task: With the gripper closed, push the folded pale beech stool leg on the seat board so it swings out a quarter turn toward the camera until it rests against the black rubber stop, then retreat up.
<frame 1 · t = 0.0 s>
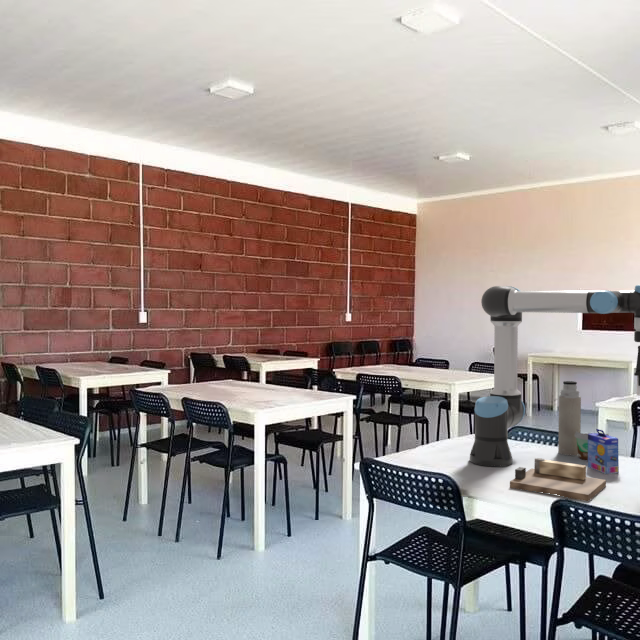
ink cartridge box: (602, 470, 232), on the table
food container: (591, 460, 246), on the table
stool leg: (559, 468, 217), point 4 cm above the table, hinge at 0.0°
seat board: (558, 486, 211), on the table
thermos bottle: (569, 453, 257), on the table
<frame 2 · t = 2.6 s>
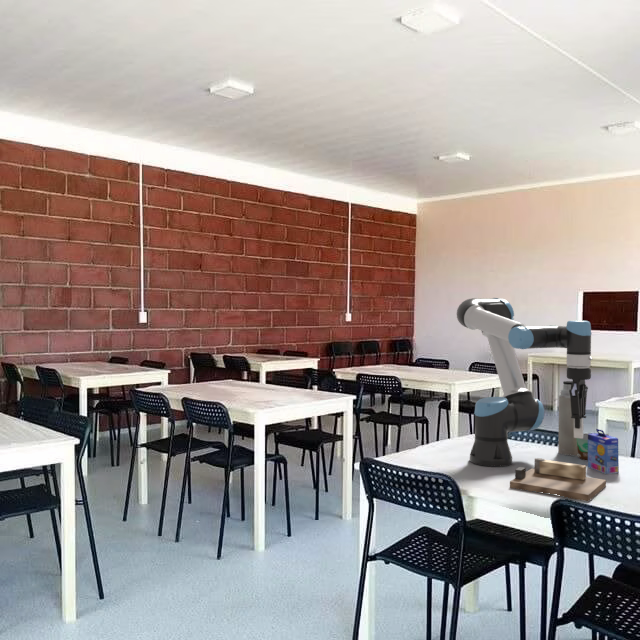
hand: (578, 437, 220), 14 cm above the table, fingers closed
nothing on the table moved.
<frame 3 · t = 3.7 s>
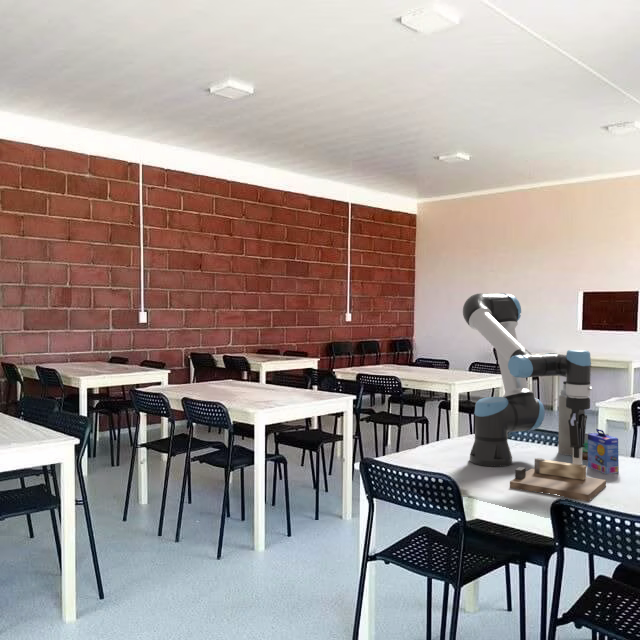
hand: (577, 466, 221), 4 cm above the table, fingers closed
nothing on the table moved.
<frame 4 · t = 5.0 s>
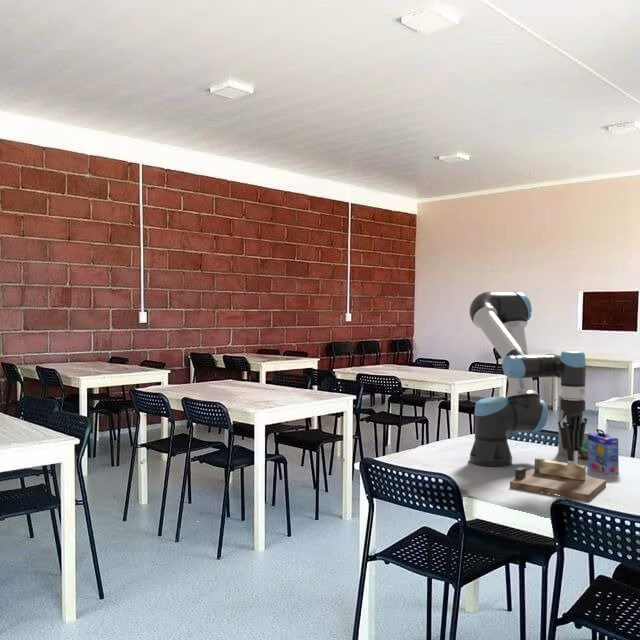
hand: (572, 470, 216), 4 cm above the table, fingers closed
stool leg: (558, 469, 217), point 4 cm above the table, hinge at 2.0°, touching gripper
everything else where it was.
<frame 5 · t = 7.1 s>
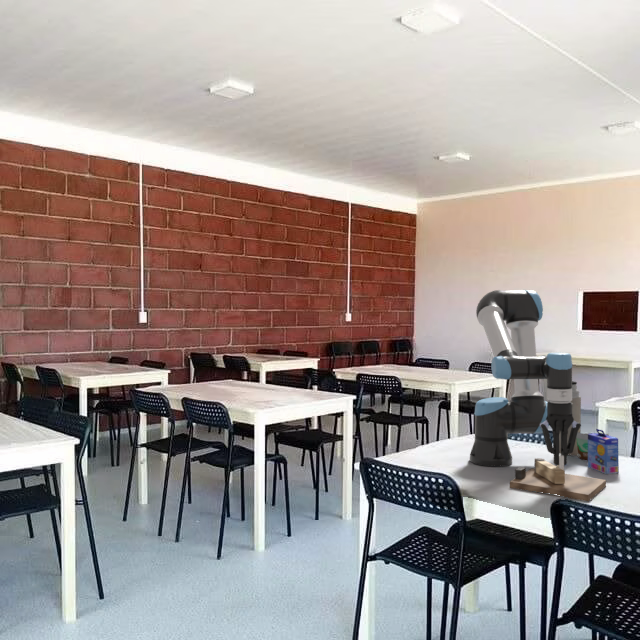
hand: (560, 474, 211), 4 cm above the table, fingers closed
stool leg: (548, 470, 214), point 4 cm above the table, hinge at 46.3°, touching gripper
everything else where it was.
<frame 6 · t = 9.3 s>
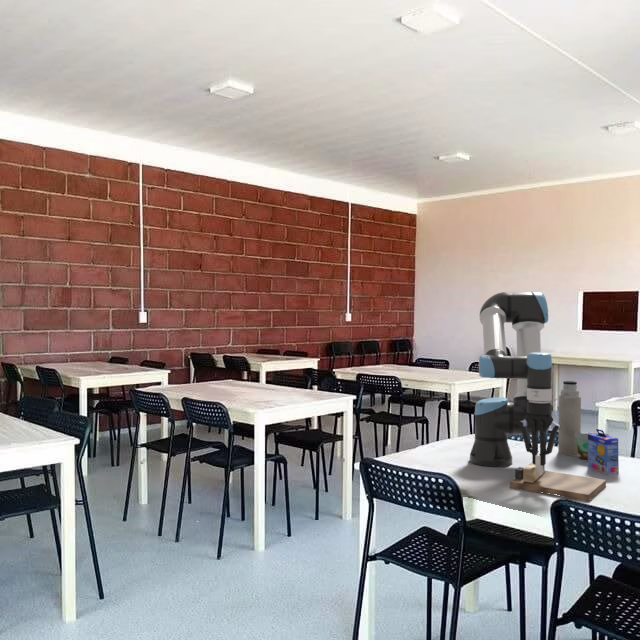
hand: (538, 474, 211), 4 cm above the table, fingers closed
stool leg: (534, 470, 215), point 4 cm above the table, hinge at 84.9°, touching gripper
everything else where it was.
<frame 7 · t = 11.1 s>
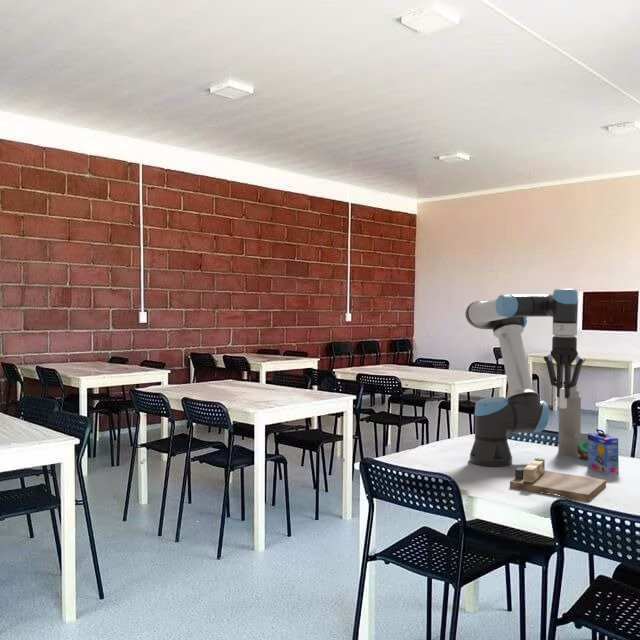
hand: (563, 407, 217), 24 cm above the table, fingers closed
stool leg: (534, 470, 215), point 4 cm above the table, hinge at 84.9°
everything else where it was.
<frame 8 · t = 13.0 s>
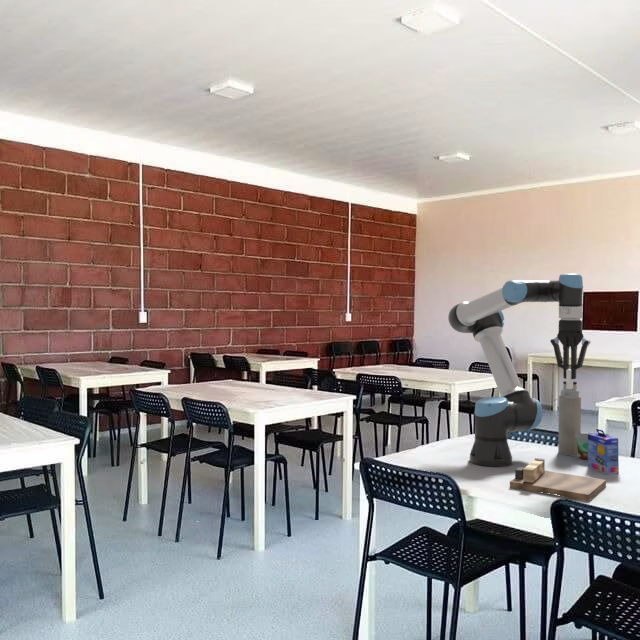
hand: (569, 388, 226), 29 cm above the table, fingers closed
nothing on the table moved.
at the end: stool leg at +85° (first picture: +0°) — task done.
